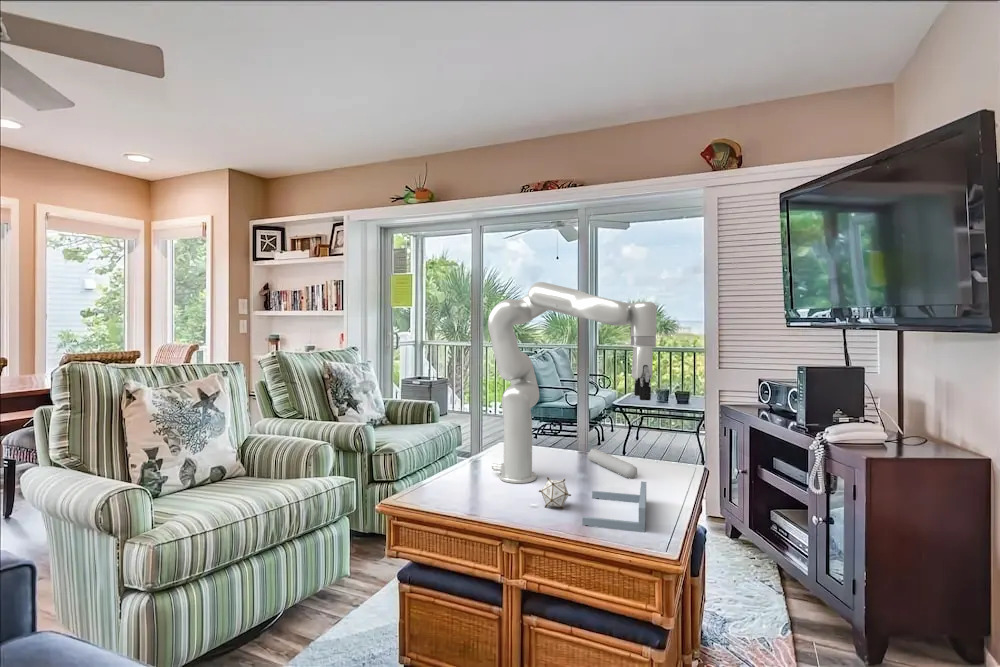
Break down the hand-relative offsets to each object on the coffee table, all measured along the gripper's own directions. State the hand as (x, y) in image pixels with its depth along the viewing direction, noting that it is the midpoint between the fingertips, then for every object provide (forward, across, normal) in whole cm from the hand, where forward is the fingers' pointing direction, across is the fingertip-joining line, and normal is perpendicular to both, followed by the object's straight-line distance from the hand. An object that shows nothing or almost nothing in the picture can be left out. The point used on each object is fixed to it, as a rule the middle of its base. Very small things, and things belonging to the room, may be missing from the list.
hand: (642, 397), depth 163 cm
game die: (+30, +16, -26) cm, 43 cm away
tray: (+29, +20, -10) cm, 37 cm away
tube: (+30, -24, -6) cm, 39 cm away
